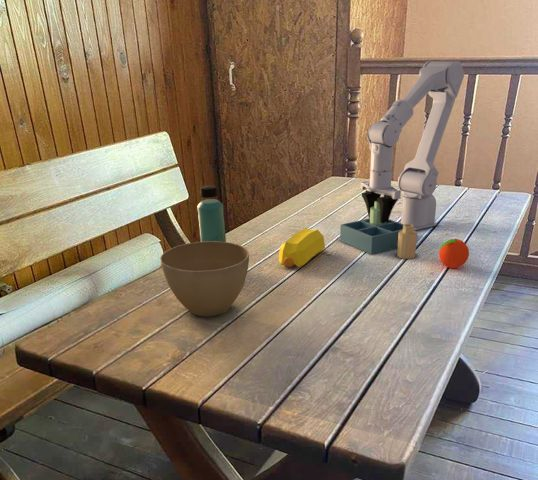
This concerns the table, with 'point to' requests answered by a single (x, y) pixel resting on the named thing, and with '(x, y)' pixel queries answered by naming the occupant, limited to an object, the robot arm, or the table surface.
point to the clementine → (453, 253)
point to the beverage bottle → (211, 216)
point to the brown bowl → (206, 275)
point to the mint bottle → (375, 214)
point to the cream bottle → (407, 242)
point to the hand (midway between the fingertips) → (378, 220)
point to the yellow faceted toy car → (301, 247)
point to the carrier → (371, 235)
